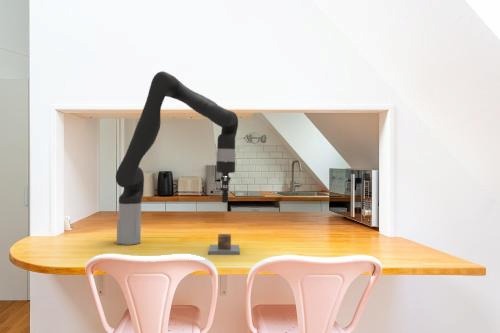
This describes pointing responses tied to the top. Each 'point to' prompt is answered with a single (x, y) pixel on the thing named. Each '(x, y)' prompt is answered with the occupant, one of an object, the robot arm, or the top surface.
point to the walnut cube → (224, 241)
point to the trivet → (224, 250)
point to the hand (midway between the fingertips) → (225, 201)
